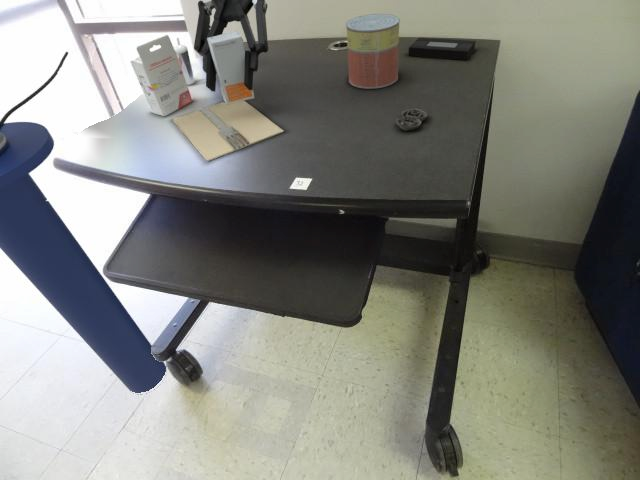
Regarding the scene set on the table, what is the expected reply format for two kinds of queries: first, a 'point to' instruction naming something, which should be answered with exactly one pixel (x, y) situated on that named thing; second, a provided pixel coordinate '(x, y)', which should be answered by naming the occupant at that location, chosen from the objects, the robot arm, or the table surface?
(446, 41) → the vhs tape
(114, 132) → the table surface
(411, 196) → the table surface
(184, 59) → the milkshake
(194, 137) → the placemat
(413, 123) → the corroded twin loop
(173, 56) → the ink cartridge box
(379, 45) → the canned food
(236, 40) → the cosmetic box
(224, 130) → the fork
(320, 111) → the table surface
